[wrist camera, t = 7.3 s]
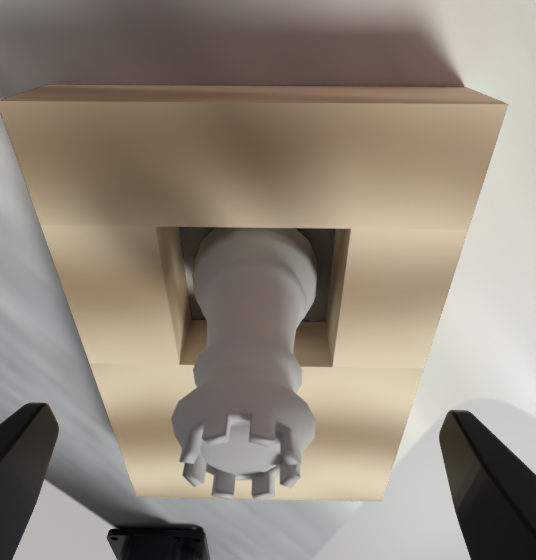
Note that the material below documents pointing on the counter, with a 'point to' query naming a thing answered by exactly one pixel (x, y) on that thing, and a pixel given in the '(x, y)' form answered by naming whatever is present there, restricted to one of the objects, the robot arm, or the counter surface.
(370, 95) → the socket block
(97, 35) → the counter surface
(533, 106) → the counter surface
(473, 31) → the counter surface
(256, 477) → the rook chess piece
